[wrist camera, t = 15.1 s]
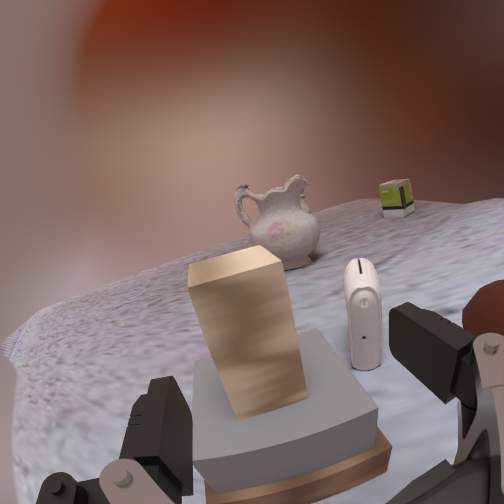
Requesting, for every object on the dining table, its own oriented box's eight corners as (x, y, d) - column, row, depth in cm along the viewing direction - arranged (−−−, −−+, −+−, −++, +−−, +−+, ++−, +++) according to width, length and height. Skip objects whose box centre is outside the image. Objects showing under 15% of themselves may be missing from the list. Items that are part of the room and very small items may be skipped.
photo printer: (384, 370, 29) (382, 276, 26) (350, 373, 30) (342, 282, 27) (377, 326, 38) (372, 248, 35) (350, 330, 40) (342, 253, 37)
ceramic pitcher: (250, 287, 72) (227, 191, 64) (250, 261, 91) (231, 185, 83) (332, 268, 71) (316, 172, 63) (315, 246, 89) (301, 170, 82)
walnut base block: (329, 389, 29) (325, 358, 28) (385, 474, 16) (392, 446, 15) (214, 423, 28) (200, 394, 27) (226, 524, 14) (206, 505, 13)
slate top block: (322, 367, 27) (317, 328, 26) (374, 447, 15) (378, 407, 14) (210, 398, 26) (194, 361, 25) (215, 493, 14) (190, 461, 13)
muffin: (443, 347, 28) (449, 276, 26) (506, 329, 24) (516, 261, 22) (471, 410, 17) (495, 329, 15) (543, 379, 14) (569, 300, 11)
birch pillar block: (286, 361, 22) (259, 244, 19) (308, 397, 17) (281, 260, 15) (227, 379, 21) (189, 264, 19) (237, 420, 16) (187, 287, 14)
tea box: (396, 211, 117) (391, 180, 113) (415, 211, 108) (410, 178, 105) (383, 218, 108) (377, 184, 105) (403, 218, 100) (398, 182, 97)
